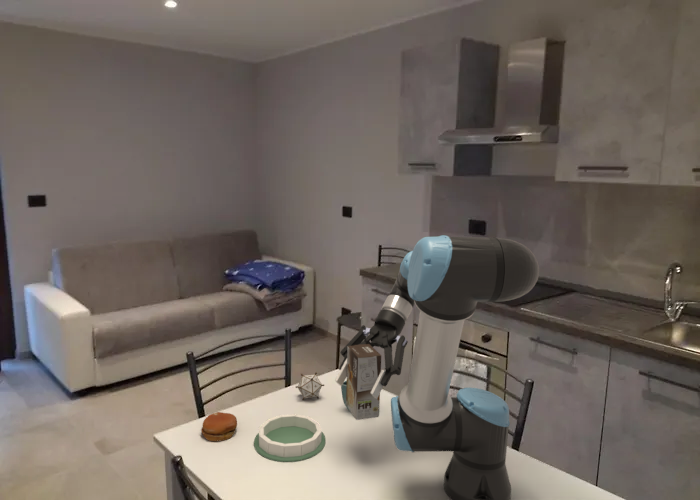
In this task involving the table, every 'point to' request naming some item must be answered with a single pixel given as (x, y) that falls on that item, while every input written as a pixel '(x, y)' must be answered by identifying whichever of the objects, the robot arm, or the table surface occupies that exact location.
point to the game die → (309, 386)
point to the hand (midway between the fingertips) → (355, 389)
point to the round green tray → (289, 438)
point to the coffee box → (362, 381)
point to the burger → (219, 426)
